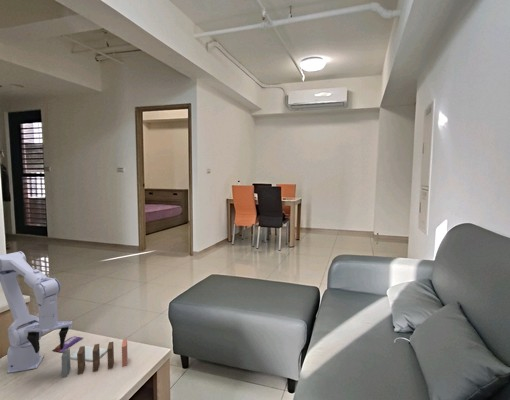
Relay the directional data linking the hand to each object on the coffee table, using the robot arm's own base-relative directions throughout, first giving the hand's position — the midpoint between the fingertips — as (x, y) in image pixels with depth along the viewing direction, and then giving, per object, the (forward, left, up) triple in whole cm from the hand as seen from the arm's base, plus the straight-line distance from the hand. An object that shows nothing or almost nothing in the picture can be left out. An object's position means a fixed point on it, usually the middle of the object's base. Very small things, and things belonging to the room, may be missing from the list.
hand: (49, 349), depth 111 cm
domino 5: (+25, 0, -10) cm, 27 cm away
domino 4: (+20, 0, -10) cm, 22 cm away
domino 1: (+5, 0, -10) cm, 11 cm away
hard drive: (+11, +10, -11) cm, 18 cm away
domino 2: (+10, 0, -10) cm, 14 cm away
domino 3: (+15, 0, -10) cm, 18 cm away
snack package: (+1, +21, -11) cm, 24 cm away
